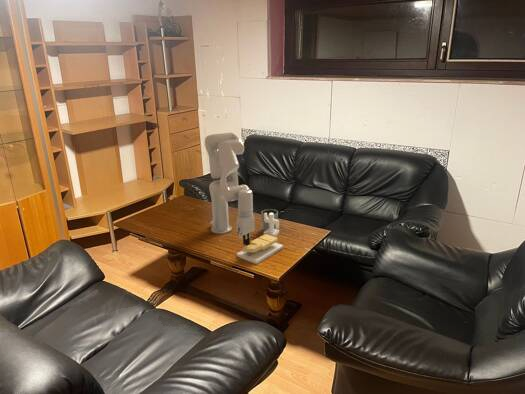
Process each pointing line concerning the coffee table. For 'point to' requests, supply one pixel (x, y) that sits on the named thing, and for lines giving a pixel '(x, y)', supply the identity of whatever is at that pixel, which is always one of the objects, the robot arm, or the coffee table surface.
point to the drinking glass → (265, 224)
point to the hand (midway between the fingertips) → (246, 244)
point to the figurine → (271, 225)
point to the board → (260, 253)
